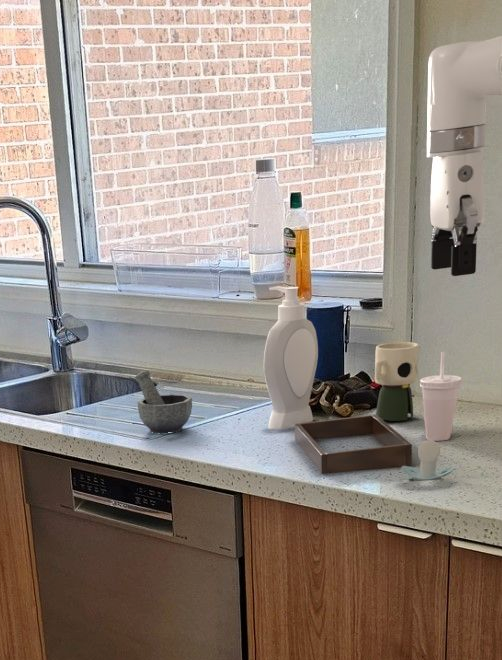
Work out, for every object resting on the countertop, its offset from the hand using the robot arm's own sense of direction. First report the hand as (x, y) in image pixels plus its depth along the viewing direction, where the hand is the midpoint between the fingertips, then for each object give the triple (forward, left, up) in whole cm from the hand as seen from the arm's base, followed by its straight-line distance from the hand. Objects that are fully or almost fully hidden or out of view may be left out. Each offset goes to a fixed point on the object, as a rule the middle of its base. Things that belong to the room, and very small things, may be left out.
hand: (452, 271), depth 175 cm
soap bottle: (+18, -37, -28) cm, 50 cm away
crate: (+12, -12, -28) cm, 33 cm away
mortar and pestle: (+40, -40, -28) cm, 63 cm away
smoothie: (-3, -16, -28) cm, 33 cm away
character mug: (0, -32, -28) cm, 43 cm away
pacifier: (+6, +10, -28) cm, 31 cm away
